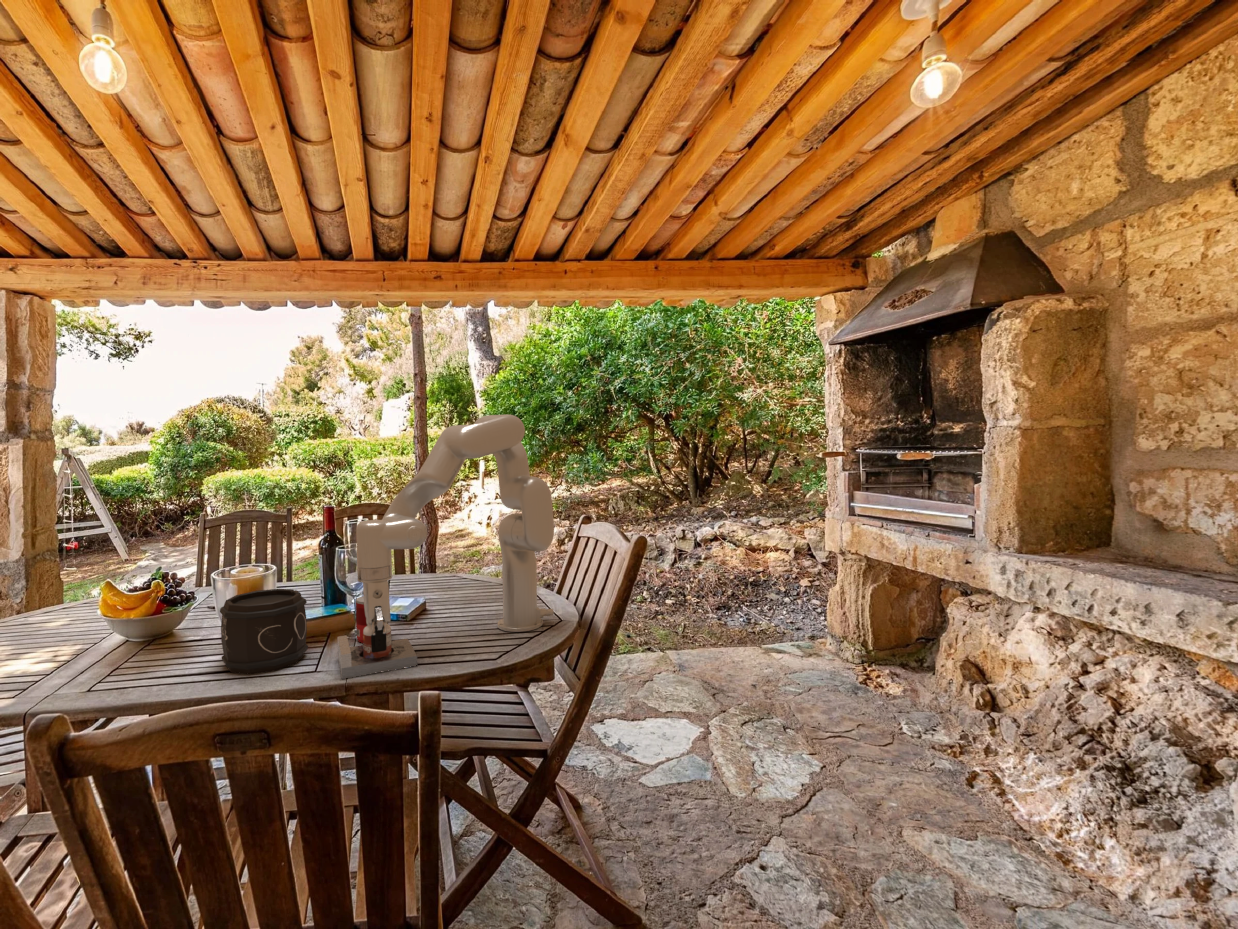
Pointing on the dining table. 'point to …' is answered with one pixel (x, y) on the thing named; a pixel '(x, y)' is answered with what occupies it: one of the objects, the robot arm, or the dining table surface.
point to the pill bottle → (367, 642)
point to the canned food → (360, 618)
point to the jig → (357, 665)
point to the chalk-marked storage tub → (263, 630)
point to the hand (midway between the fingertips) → (376, 645)
